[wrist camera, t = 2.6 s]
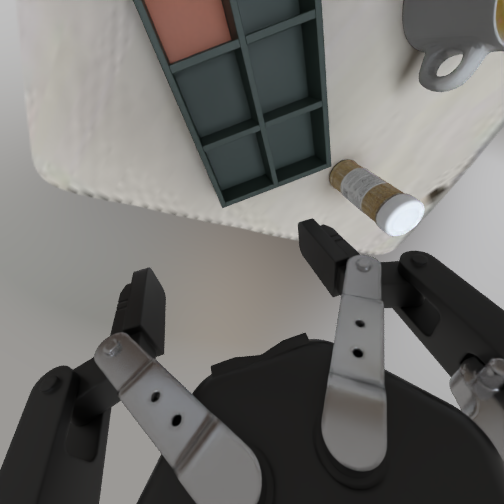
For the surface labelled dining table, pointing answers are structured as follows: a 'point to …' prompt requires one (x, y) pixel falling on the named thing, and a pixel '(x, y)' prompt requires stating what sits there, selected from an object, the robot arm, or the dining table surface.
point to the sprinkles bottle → (377, 198)
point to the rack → (246, 87)
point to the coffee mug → (453, 36)
